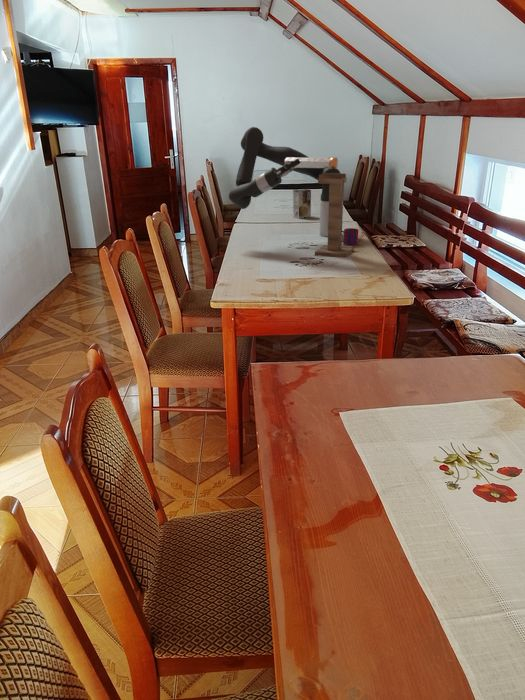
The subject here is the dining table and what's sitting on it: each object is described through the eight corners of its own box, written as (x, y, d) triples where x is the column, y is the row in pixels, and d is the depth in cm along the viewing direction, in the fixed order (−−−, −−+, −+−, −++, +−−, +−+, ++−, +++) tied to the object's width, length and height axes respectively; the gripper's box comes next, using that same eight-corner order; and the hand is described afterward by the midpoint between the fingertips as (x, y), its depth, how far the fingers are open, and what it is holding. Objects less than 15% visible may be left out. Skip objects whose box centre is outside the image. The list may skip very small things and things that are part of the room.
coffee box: (304, 215, 332) (305, 188, 325) (311, 217, 327) (311, 189, 320) (292, 217, 327) (292, 189, 321) (298, 218, 322) (299, 190, 316)
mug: (357, 245, 252) (358, 231, 249) (336, 245, 253) (336, 230, 251) (357, 242, 258) (358, 228, 255) (336, 242, 259) (337, 228, 257)
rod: (288, 164, 235) (286, 155, 231) (337, 165, 227) (337, 155, 224) (284, 169, 232) (283, 160, 229) (335, 170, 224) (334, 160, 221)
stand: (323, 248, 247) (325, 172, 234) (353, 250, 242) (357, 172, 229) (314, 255, 235) (316, 175, 222) (345, 257, 230) (349, 176, 217)
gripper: (258, 174, 231) (291, 153, 222) (270, 171, 243) (301, 151, 234) (266, 189, 232) (299, 169, 224) (278, 186, 244) (309, 167, 236)
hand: (300, 160), depth 229 cm, fingers closed on rod, 4 cm apart
